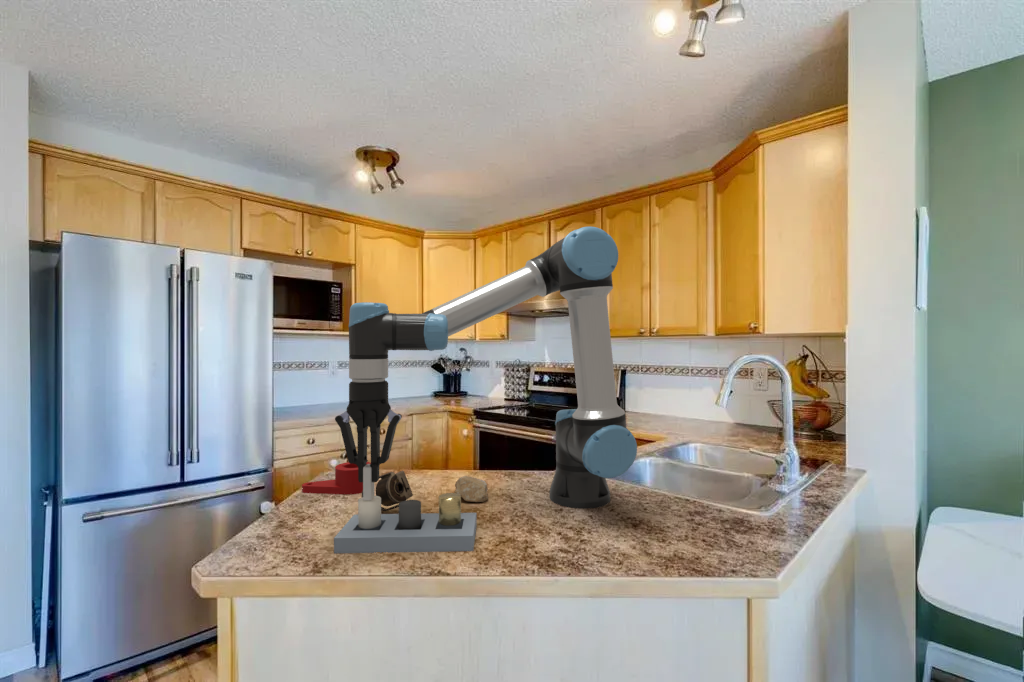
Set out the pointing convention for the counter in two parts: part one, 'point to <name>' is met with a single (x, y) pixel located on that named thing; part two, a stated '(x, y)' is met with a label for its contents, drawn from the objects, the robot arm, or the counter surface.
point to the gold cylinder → (449, 509)
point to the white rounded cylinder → (369, 512)
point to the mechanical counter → (393, 489)
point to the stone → (471, 489)
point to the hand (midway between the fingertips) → (368, 498)
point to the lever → (338, 482)
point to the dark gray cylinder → (410, 515)
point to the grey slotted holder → (407, 535)
